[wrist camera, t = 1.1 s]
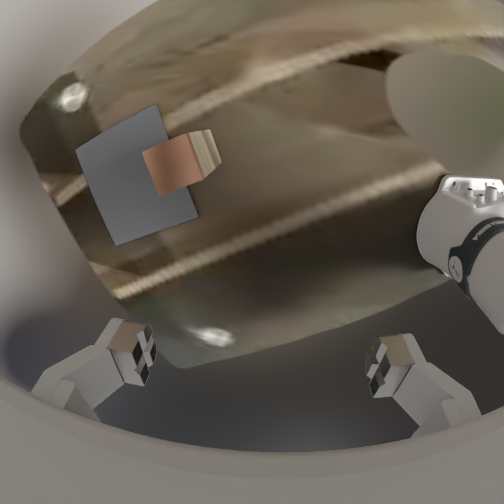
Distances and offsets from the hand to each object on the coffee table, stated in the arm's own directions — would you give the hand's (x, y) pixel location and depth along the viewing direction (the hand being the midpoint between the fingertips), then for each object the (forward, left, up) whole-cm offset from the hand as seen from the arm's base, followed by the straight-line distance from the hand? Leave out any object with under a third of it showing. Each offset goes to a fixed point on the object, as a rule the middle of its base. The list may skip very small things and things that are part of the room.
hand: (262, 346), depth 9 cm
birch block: (+8, -6, -32) cm, 33 cm away
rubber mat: (+19, -6, -32) cm, 38 cm away
